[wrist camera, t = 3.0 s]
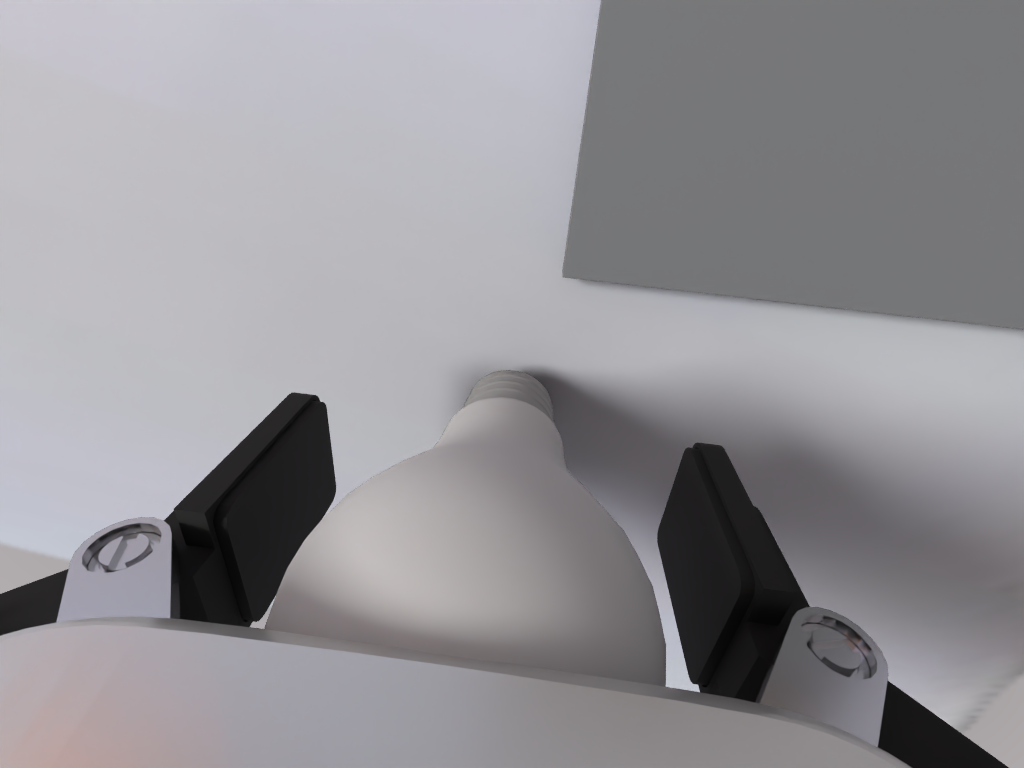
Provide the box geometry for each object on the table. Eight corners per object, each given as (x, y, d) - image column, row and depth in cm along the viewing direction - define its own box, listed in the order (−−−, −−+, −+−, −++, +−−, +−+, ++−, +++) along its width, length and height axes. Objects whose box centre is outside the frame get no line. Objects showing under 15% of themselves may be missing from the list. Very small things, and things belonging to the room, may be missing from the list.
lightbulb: (636, 443, 15) (771, 1002, 5) (466, 490, 17) (338, 985, 7) (573, 266, 13) (615, 727, 3) (379, 341, 14) (-2, 797, 5)
